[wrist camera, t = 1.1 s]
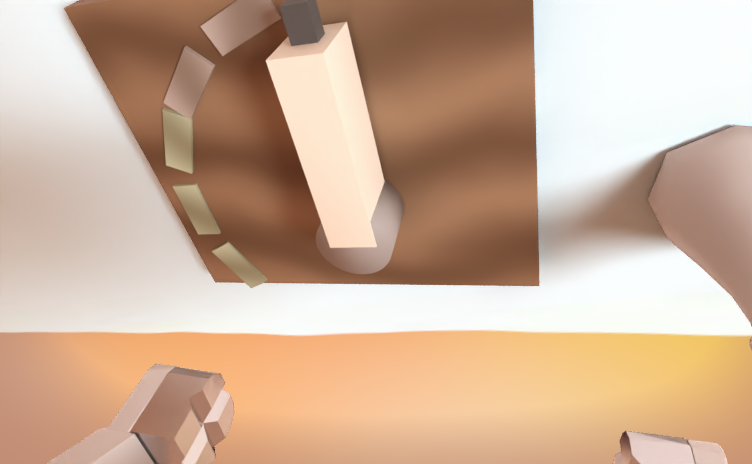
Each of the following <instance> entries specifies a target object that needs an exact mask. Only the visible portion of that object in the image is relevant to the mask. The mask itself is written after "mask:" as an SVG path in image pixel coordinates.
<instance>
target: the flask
mask: <svg viewBox="0 0 752 464" xmlns="http://www.w3.org/2000/svg"><path fill="white" fill-rule="evenodd" d="M647 200H648V202H649V204H650V206H651V208H652V210H653V212H654V214H655V216H656V218H657V219H658V221H659V223H660V225H661V227H662V229H663V231H664V233H665V235H666V237H667V238H668V239H669V240H670V241H671V242H672V243H673V244H674V245H675V246H677V247H678V248H679V249H680V250H681V251H683V252H684V253H685V254H686V255H687V256H688V257H690V258H691V259H692V260H693V261H694V262H696V263H697V264H698V265H699V266H700V267H701V268H702V269H704V270H705V271H706V272H707V273H708V274H709V275H710V276H711V277H712V278H713V279H714V280H715V281H716V282H717V283H718V284H719V285H721V286H722V287H723V288H724V289H725V290H726V291H727V292H728V293H729V294H730V295H731V296H732V297H733V298H734V300H735V301H736V303H737V304H738V306H739V307H740V308H741V310H742V311H743V313H744V314H745V316H746V317H747V318H748V320H749V321H750V323H751V326H752V127H746V126H732V127H730V128H727V129H725V130H722V131H720V132H717V133H715V134H712V135H710V136H707V137H705V138H702V139H700V140H697V141H695V142H692V143H689V144H687V145H684V146H682V147H679V148H677V149H674V150H672V151H669V152H667V154H666V156H665V159H664V161H663V163H662V166H661V168H660V170H659V173H658V175H657V178H656V180H655V182H654V185H653V187H652V190H651V192H650V194H649V197H648V199H647ZM750 347H751V349H752V337H751V339H750Z"/></svg>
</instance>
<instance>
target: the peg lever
mask: <svg viewBox="0 0 752 464" xmlns="http://www.w3.org/2000/svg"><path fill="white" fill-rule="evenodd" d="M279 8H280V11H281V15H282V18H283V21H284V24H285V28H286V31H287V34H288V37H287V38H286V39H285V40H284V41H283V42H282V43H281V45H280V46H279V47H278V48H277V49H276V50H275V51H274V52H273V53H272V54H271V55H270V56H269V58H268V59H267V60H266V63H267V66H268V69H269V72H270V75H271V78H272V81H273V84H274V86H275V89H276V92H277V95H278V98H279V101H280V104H281V107H282V110H283V113H284V115H285V118H286V121H287V124H288V127H289V130H290V133H291V136H292V139H293V142H294V144H295V147H296V150H297V153H298V156H299V159H300V162H301V165H302V168H303V171H304V173H305V176H306V179H307V182H308V185H309V188H310V191H311V194H312V197H313V200H314V202H315V205H316V208H317V211H318V214H319V217H320V220H321V224H320V226H319V228H318V230H317V233H316V244H317V247H318V249H319V251H320V253H321V254H322V256H323V257H324V258H325V259H326V260H327V261H328V262H329V263H330V264H332V265H333V266H335V267H337V268H339V269H341V270H343V271H346V272H349V273H354V274H371V273H374V272H377V271H379V270H381V269H383V268H384V267H385V266H386V265H387V264H388V262H389V261H390V259H391V256H392V252H393V249H394V245H395V242H396V238H397V235H398V231H399V228H400V224H401V221H402V218H403V214H404V203H403V200H402V198H401V196H400V194H399V192H398V191H397V190H396V189H395V188H394V187H393V186H392V185H391V184H389V183H388V182H386V181H385V180H384V177H383V173H382V169H381V164H380V160H379V156H378V152H377V148H376V143H375V139H374V135H373V131H372V126H371V122H370V118H369V114H368V109H367V105H366V101H365V97H364V92H363V88H362V84H361V80H360V76H359V71H358V67H357V63H356V59H355V54H354V50H353V46H352V42H351V37H350V33H349V29H348V25H347V22H341V23H334V24H328V25H323V24H322V21H321V17H320V13H319V9H318V5H317V2H316V0H286V1H285V2H283V3H282V4H281V5H280V6H279Z"/></svg>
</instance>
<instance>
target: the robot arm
mask: <svg viewBox="0 0 752 464" xmlns="http://www.w3.org/2000/svg"><path fill="white" fill-rule="evenodd" d="M224 384H225V381H224V379H223V377H222V375H221V374H220V373H213V372H207V371H200V370H193V369H186V368H180V367H175V366H168V365H161V364H155V365H154V366H152V367H151V368H150V369H149V370H147V372H146V373H145V375H144V376H143V378H142V379H141V381H140V382H139V383H138V385H137V386H136V388H135V389H134V391H133V392H132V394H131V395H130V396H129V398H128V399H127V401H126V402H125V404H124V405H123V406H122V408H121V409H120V411H119V412H118V414H117V415H116V417H115V418H114V420H113V421H112V422H111V424H110V425H109V427H108V428H100V429H98V430H97V431H95V432H94V433H92V434H91V435H89V436H88V437H86V438H85V439H83V440H82V441H80V442H78V443H77V444H75V445H74V446H73V447H71V448H69V449H68V450H66V451H65V452H63V453H62V454H60V455H59V456H57V457H56V458H54V459H53V460H51V461H49V462H48V463H46V464H213V462H214V460H215V458H216V454H215V447H214V446H215V445H216V444H218V443H219V442H220V441H222V440H223V439H224V438H225V437H226V435H227V433H228V431H229V429H230V427H231V424H232V419H233V415H234V404H233V400H232V398H231V395H229V394H228V393H227V392H226V391H224V390H223V389H222V388H223V386H224ZM620 446H621V452H619V453H617V454H615V457H614V460H613V463H612V464H728V463H727V460H726V456H725V453H724V451H723V449H722V448H721V447H720V445H718V444H716V443H712V442H703V441H697V440H689V439H684V438H679V437H671V436H663V435H655V434H647V433H639V432H631V431H625V432H623V433H622V436H621V439H620Z"/></svg>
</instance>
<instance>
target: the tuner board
mask: <svg viewBox="0 0 752 464" xmlns="http://www.w3.org/2000/svg"><path fill="white" fill-rule="evenodd" d="M285 1H286V0H79V1H77V2H75V3H73V4H71V5H69V6H67V7H65V8H64V9H65V11H66V13H67V14H68V16H69V18H70V20H71V22H72V23H73V25H74V27H75V29H76V31H77V33H78V34H79V36H80V38H81V40H82V42H83V43H84V45H85V47H86V49H87V51H88V52H89V54H90V56H91V58H92V60H93V62H94V63H95V65H96V67H97V69H98V71H99V72H100V74H101V76H102V78H103V80H104V81H105V83H106V85H107V87H108V89H109V91H110V92H111V94H112V96H113V98H114V100H115V101H116V103H117V105H118V107H119V109H120V110H121V112H122V114H123V116H124V118H125V120H126V121H127V123H128V125H129V127H130V129H131V130H132V132H133V134H134V136H135V138H136V139H137V141H138V143H139V145H140V147H141V149H142V150H143V152H144V154H145V156H146V158H147V159H148V161H149V163H150V165H151V167H152V168H153V170H154V172H155V174H156V176H157V178H158V179H159V181H160V183H161V185H162V187H163V188H164V190H165V192H166V194H167V196H168V197H169V199H170V201H171V203H172V205H173V207H174V208H175V210H176V212H177V214H178V216H179V217H180V219H181V221H182V223H183V225H184V226H185V228H186V230H187V232H188V234H189V236H190V237H191V239H192V241H193V243H194V245H195V246H196V248H197V250H198V252H199V254H200V255H201V257H202V259H203V261H204V263H205V265H206V266H207V268H208V270H209V272H210V274H211V275H212V277H213V279H214V281H215V282H235V283H246V284H247V285H248V286H249V287H250V288H253V287H255V286H257V285H260V284H262V283H322V284H409V285H496V286H539V249H538V204H537V159H536V114H535V69H534V24H533V0H316V2H317V5H318V9H319V13H320V17H321V21H322V24H323V25H328V24H334V23H341V22H347V25H348V29H349V33H350V37H351V42H352V46H353V50H354V54H355V59H356V63H357V67H358V71H359V76H360V80H361V84H362V88H363V92H364V97H365V101H366V105H367V109H368V114H369V118H370V122H371V126H372V131H373V135H374V139H375V143H376V148H377V152H378V156H379V160H380V164H381V169H382V173H383V177H384V180H385V181H386V182H388V183H389V184H391V185H392V186H393V187H394V188H395V189H396V190H397V191H398V192H399V194H400V196H401V198H402V200H403V203H404V214H403V218H402V221H401V224H400V228H399V231H398V235H397V238H396V242H395V245H394V249H393V252H392V256H391V259H390V261H389V262H388V264H387V265H386V266H385V267H384V268H383V269H381V270H379V271H377V272H374V273H371V274H354V273H349V272H346V271H343V270H341V269H339V268H337V267H335V266H333V265H332V264H330V263H329V262H328V261H327V260H326V259H325V258H324V257H323V256H322V254H321V253H320V251H319V249H318V247H317V244H316V233H317V230H318V228H319V226H320V224H321V220H320V217H319V214H318V211H317V208H316V205H315V202H314V200H313V197H312V194H311V191H310V188H309V185H308V182H307V179H306V176H305V173H304V171H303V168H302V165H301V162H300V159H299V156H298V153H297V150H296V147H295V144H294V142H293V139H292V136H291V133H290V130H289V127H288V124H287V121H286V118H285V115H284V113H283V110H282V107H281V104H280V101H279V98H278V95H277V92H276V89H275V86H274V84H273V81H272V78H271V75H270V72H269V69H268V66H267V63H266V60H267V59H268V58H269V56H270V55H271V54H272V53H273V52H274V51H275V50H276V49H277V48H278V47H279V46H280V45H281V43H282V42H283V41H284V40H285V39H286V38H287V37H288V34H287V31H286V28H285V24H284V21H283V18H282V15H281V11H280V8H279V6H280V5H281V4H282V3H283V2H285Z"/></svg>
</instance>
